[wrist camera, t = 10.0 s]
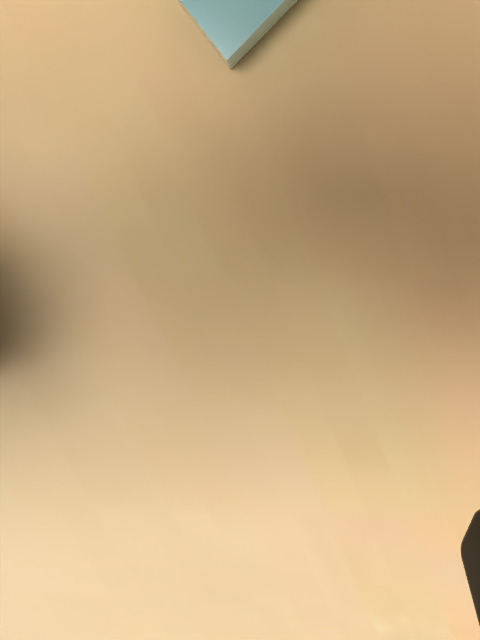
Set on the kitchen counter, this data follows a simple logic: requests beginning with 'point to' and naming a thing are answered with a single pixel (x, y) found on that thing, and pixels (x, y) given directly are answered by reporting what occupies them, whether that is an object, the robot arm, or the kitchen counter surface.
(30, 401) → the kitchen counter surface
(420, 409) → the kitchen counter surface
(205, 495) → the kitchen counter surface
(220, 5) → the ceramic plinth
